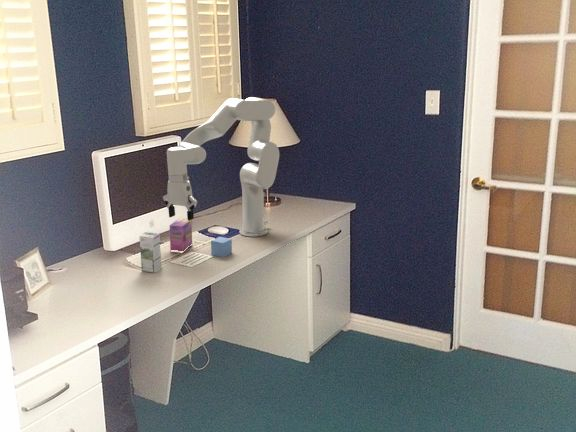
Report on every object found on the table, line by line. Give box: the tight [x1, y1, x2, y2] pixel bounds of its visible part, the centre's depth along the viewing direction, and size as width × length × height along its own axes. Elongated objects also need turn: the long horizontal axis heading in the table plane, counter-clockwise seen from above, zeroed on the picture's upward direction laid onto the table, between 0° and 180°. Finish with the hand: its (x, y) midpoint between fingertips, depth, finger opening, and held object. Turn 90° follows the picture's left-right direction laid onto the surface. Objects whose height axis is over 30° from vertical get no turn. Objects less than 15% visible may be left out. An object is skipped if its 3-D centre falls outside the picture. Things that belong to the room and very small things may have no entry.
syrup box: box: [139, 231, 162, 274], centre depth 255 cm, size 6×6×14 cm
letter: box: [169, 251, 214, 268], centre depth 268 cm, size 14×11×1 cm
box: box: [169, 217, 193, 251], centre depth 279 cm, size 10×6×12 cm, turn 165°
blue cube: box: [210, 236, 233, 258], centre depth 274 cm, size 6×6×6 cm
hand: (181, 217), depth 277 cm, fingers open, 9 cm apart
